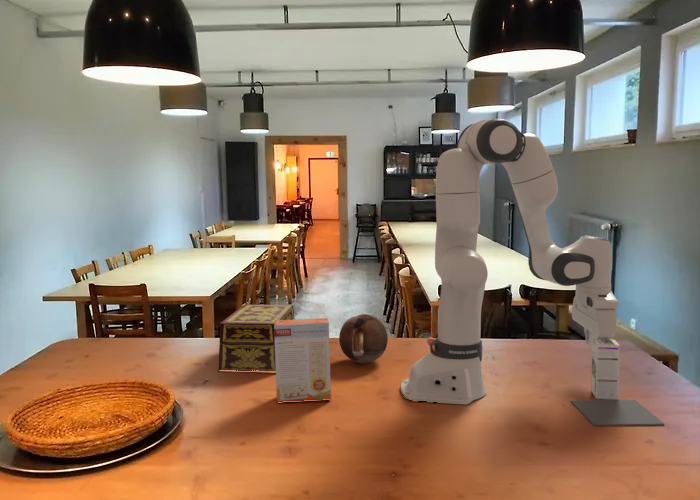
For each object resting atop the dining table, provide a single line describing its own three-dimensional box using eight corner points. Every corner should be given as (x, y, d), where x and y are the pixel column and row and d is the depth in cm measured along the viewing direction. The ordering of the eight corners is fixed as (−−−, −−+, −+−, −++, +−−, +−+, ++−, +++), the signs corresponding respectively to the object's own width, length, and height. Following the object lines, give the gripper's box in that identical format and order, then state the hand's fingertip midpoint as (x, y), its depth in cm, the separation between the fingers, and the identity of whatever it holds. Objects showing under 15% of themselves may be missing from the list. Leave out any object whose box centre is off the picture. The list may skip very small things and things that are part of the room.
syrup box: (619, 400, 145) (621, 345, 144) (594, 399, 147) (596, 344, 145) (613, 392, 151) (615, 338, 149) (589, 390, 152) (591, 337, 150)
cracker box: (330, 393, 153) (328, 316, 151) (331, 402, 147) (329, 322, 145) (277, 395, 152) (274, 318, 150) (276, 404, 146) (273, 324, 144)
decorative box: (244, 345, 198) (243, 303, 196) (297, 346, 196) (296, 303, 194) (218, 372, 171) (215, 323, 169) (279, 374, 169) (277, 324, 167)
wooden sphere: (357, 351, 189) (357, 307, 187) (396, 359, 180) (396, 313, 178) (329, 364, 177) (328, 316, 175) (370, 373, 168) (369, 323, 166)
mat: (593, 425, 131) (593, 424, 131) (571, 401, 145) (571, 400, 145) (664, 425, 131) (664, 423, 131) (634, 401, 145) (634, 399, 145)
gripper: (567, 288, 165) (565, 334, 167) (596, 304, 145) (594, 356, 147) (589, 287, 165) (587, 334, 167) (621, 303, 145) (619, 356, 147)
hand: (590, 345), depth 157 cm, fingers closed
